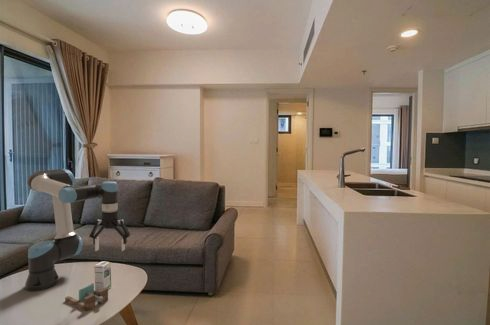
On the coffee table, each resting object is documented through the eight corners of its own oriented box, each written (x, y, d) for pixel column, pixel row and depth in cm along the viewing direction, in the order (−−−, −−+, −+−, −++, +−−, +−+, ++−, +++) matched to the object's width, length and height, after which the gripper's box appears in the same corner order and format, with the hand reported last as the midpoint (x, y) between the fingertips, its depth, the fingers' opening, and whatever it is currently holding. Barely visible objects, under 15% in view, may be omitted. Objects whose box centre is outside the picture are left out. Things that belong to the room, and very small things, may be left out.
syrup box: (104, 292, 145) (103, 266, 144) (94, 291, 146) (93, 265, 145) (111, 287, 150) (110, 261, 150) (102, 286, 152) (101, 260, 151)
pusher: (79, 303, 134) (78, 289, 134) (92, 296, 140) (92, 283, 140) (94, 310, 128) (94, 296, 128) (108, 302, 135) (108, 289, 134)
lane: (65, 301, 136) (64, 289, 136) (86, 291, 146) (86, 280, 146) (86, 311, 128) (86, 299, 128) (108, 299, 138) (107, 288, 137)
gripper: (81, 212, 138) (82, 252, 139) (131, 212, 140) (131, 252, 141) (88, 209, 146) (89, 247, 147) (136, 209, 147) (136, 247, 149)
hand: (110, 250), depth 144 cm, fingers open, 13 cm apart
